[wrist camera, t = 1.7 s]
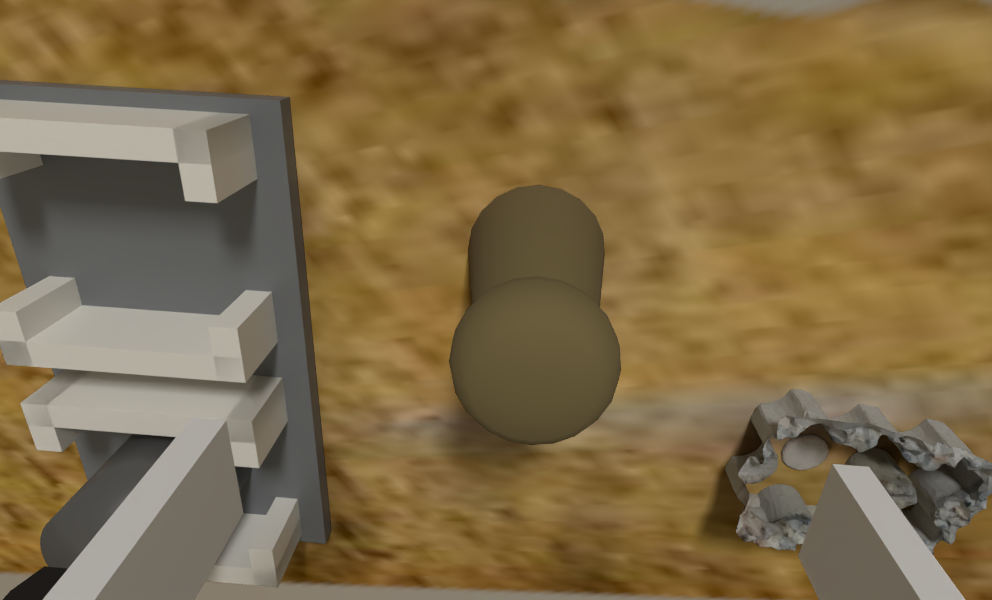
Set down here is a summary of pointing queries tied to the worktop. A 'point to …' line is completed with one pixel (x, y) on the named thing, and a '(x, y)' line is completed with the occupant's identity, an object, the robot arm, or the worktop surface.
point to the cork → (535, 320)
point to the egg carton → (930, 446)
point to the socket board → (164, 302)
